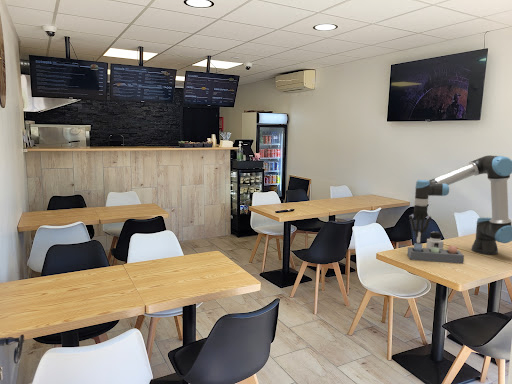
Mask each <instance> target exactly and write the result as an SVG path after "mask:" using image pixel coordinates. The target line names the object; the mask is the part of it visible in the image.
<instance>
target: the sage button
mask: <svg viewBox="0 0 512 384" xmlns="http://www.w3.org/2000/svg"><path fill="white" fill-rule="evenodd" d="M431 252H434V253H439V248H437V247H431Z"/></svg>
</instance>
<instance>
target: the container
mask: <svg viewBox="0 0 512 384" xmlns="http://www.w3.org/2000/svg"><path fill="white" fill-rule="evenodd" d="M431 247H437V248H439V249H443V250H444V241H443V240H442V233H441V232H439V231H432V232H430V233H429V238H427V239H426V247H425V248H428V249H431Z"/></svg>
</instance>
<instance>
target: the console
mask: <svg viewBox="0 0 512 384" xmlns="http://www.w3.org/2000/svg"><path fill="white" fill-rule="evenodd" d="M407 256H408V259H409V260H410V261H423V262H435V263H436V262H437V263H438V262H439V263H450V264H451V263H452V264H462V265H463V264H464V262H465V261H464V260H465V259H464V258H465V255H464V254H463V252H461V251H460V250H458V249H457V254H449V253H448V249H444V248H443V249H439V253H434V252H431V249H428V248H426V247H425V248H424V247H422V252H419V251H414V246H413V247H412V246H411V247H409V246H408V247H407Z"/></svg>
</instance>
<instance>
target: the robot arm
mask: <svg viewBox="0 0 512 384" xmlns="http://www.w3.org/2000/svg"><path fill="white" fill-rule="evenodd" d="M484 174H487V179H488V180H489V181H490V198H491V199H490V201H491V217H478V218H477V221H476V231H475V239H474V241H473V244H472V246H471V251H472V252H474V253H478V254H483V255H490V256H491V255H493V256H494V255H498V254H499V249H498V244H497V243H501V244H507V243H510V242H512V220H511V219H510V218H509V199H508V197H509V196H508V195H509V194H508V180H509V179H510V178H511V175H512V159H511V158H510V157H507V156H504V155H484V156H482V157H479V158H477V159H475V160H472V161H469V162H468V164H466V165H464V166H462V167H458V168H456V169H454V170H452V171H449V172H447V173H443V174H442V175H439V176H437V177H433V178H432V179H429V180H426V179H418V180H417V181H416V182H415V194H414V206H413V208H414V209H413V212H412V214H410V215H409V219H410V223H411V229H412V231H413V232H415V234H414V235H415V238H416V243H420V244H421V238H423V234H424V233H425V232H426V231H427V228H428V226H429V223H430V221H431V220H432V216H430V215H429V214H428V205H429V197H430V196H431V197H433V196H435V197H436V196H437V197H445V196H448V195H449V193H450V185H453V184H455V183H458V182H460V181H462V180H464V179H468V178H470V177H472V176H474V177H475V176H480V175H484ZM414 218H415V222H414ZM425 219H426V220H425ZM424 220H425V221H424ZM424 222H425V223H424ZM419 226H420V227H419Z"/></svg>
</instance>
